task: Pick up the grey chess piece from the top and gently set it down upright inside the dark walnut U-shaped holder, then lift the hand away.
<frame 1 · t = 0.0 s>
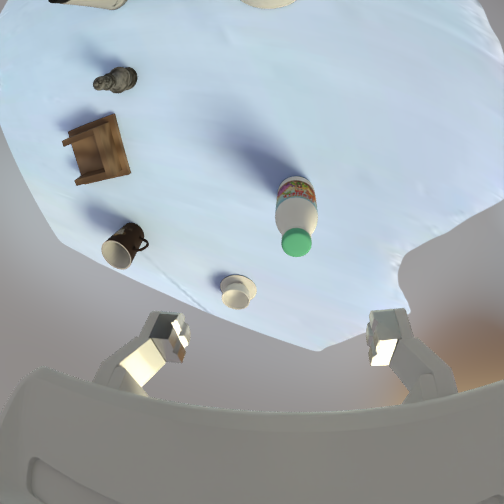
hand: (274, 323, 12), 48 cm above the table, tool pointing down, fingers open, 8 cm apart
grey chess piece: (127, 78, 48), on the table
coffee mug: (138, 234, 71), on the table
milk bottle: (296, 191, 59), on the table
u-rest: (98, 150, 58), on the table
teacup: (238, 287, 78), on the table
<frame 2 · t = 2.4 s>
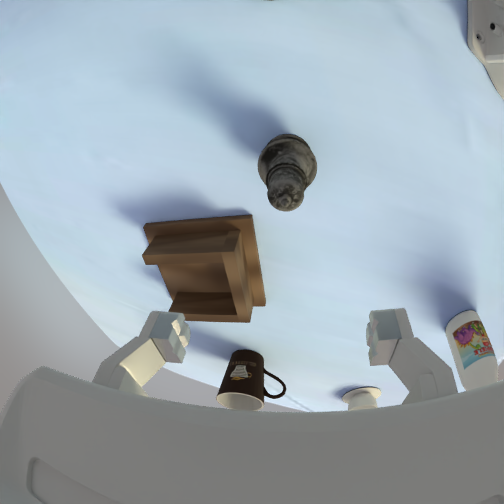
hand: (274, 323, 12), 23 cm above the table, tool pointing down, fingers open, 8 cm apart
grey chess piece: (287, 156, 30), on the table
coffee mug: (255, 359, 54), on the table
milk bottle: (461, 322, 42), on the table
u-rest: (207, 264, 41), on the table
teacup: (361, 394, 60), on the table
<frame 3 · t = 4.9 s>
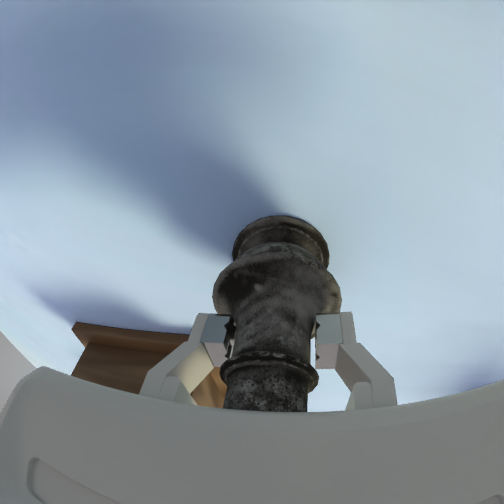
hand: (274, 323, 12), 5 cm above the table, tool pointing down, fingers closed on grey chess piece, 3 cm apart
grey chess piece: (280, 256, 16), on the table, touching gripper
u-rest: (166, 376, 26), on the table
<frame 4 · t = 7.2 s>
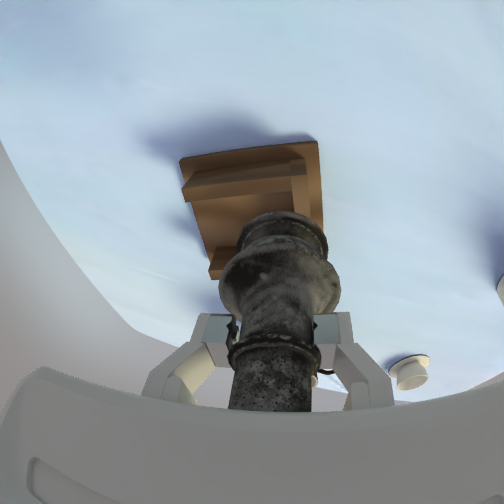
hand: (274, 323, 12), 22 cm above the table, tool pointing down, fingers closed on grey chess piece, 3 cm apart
grey chess piece: (282, 249, 16), point 16 cm above the table, touching gripper
u-rest: (257, 208, 33), on the table
teacup: (409, 364, 53), on the table
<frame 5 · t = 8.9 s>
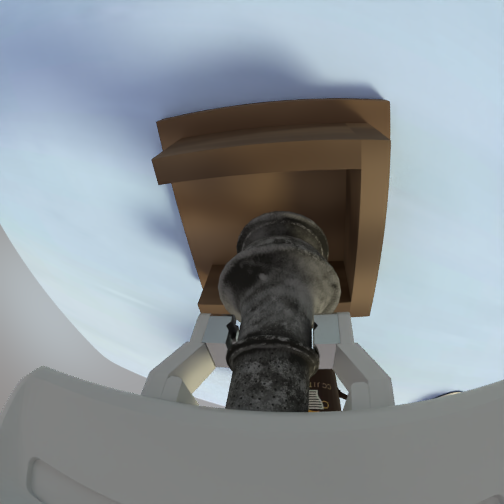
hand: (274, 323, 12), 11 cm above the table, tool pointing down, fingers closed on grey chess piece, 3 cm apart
grey chess piece: (282, 250, 16), point 5 cm above the table, touching gripper
coffee mug: (320, 376, 34), on the table
u-rest: (281, 204, 20), on the table
when the fingers open (7 cm above the table, at t = 10.0 s): grey chess piece stays where it is, resting on u-rest.
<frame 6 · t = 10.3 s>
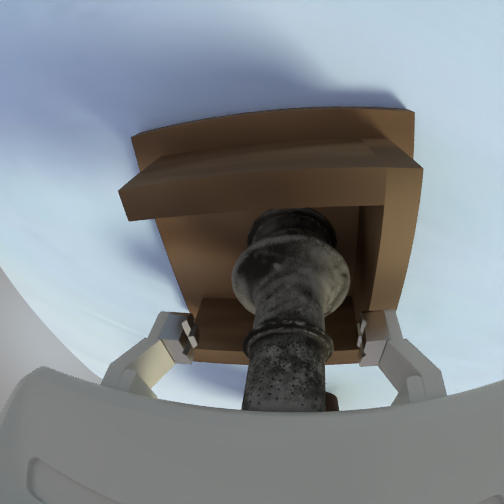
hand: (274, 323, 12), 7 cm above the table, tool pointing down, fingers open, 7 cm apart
grey chess piece: (292, 243, 17), point 1 cm above the table, touching u-rest
u-rest: (281, 233, 18), on the table
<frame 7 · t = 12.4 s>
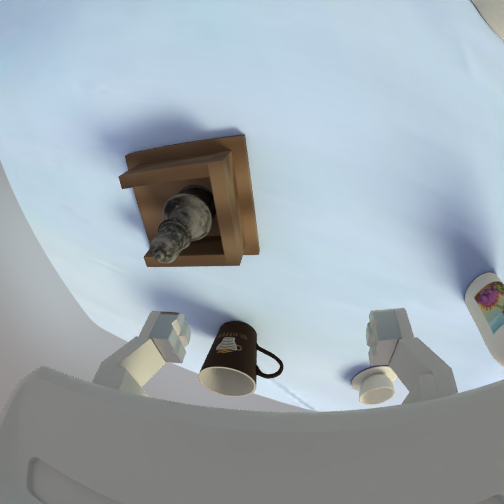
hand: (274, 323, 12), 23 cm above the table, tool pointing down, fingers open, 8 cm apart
grey chess piece: (196, 204, 34), point 1 cm above the table, touching u-rest
coffee mug: (246, 335, 47), on the table
milk bottle: (480, 288, 36), on the table
u-rest: (193, 201, 35), on the table
teacup: (374, 377, 51), on the table
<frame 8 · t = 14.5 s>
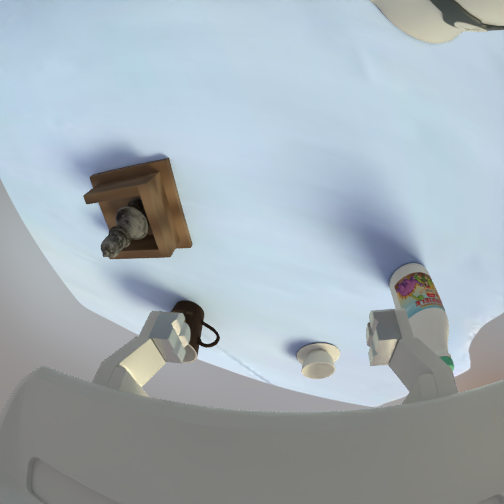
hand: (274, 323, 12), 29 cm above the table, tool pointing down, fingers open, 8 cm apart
grey chess piece: (141, 211, 43), point 1 cm above the table, touching u-rest
coffee mug: (196, 312, 57), on the table
milk bottle: (407, 277, 45), on the table
u-rest: (140, 208, 44), on the table
teacup: (318, 353, 61), on the table
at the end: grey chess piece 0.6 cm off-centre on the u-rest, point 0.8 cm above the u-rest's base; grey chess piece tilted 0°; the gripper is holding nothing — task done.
